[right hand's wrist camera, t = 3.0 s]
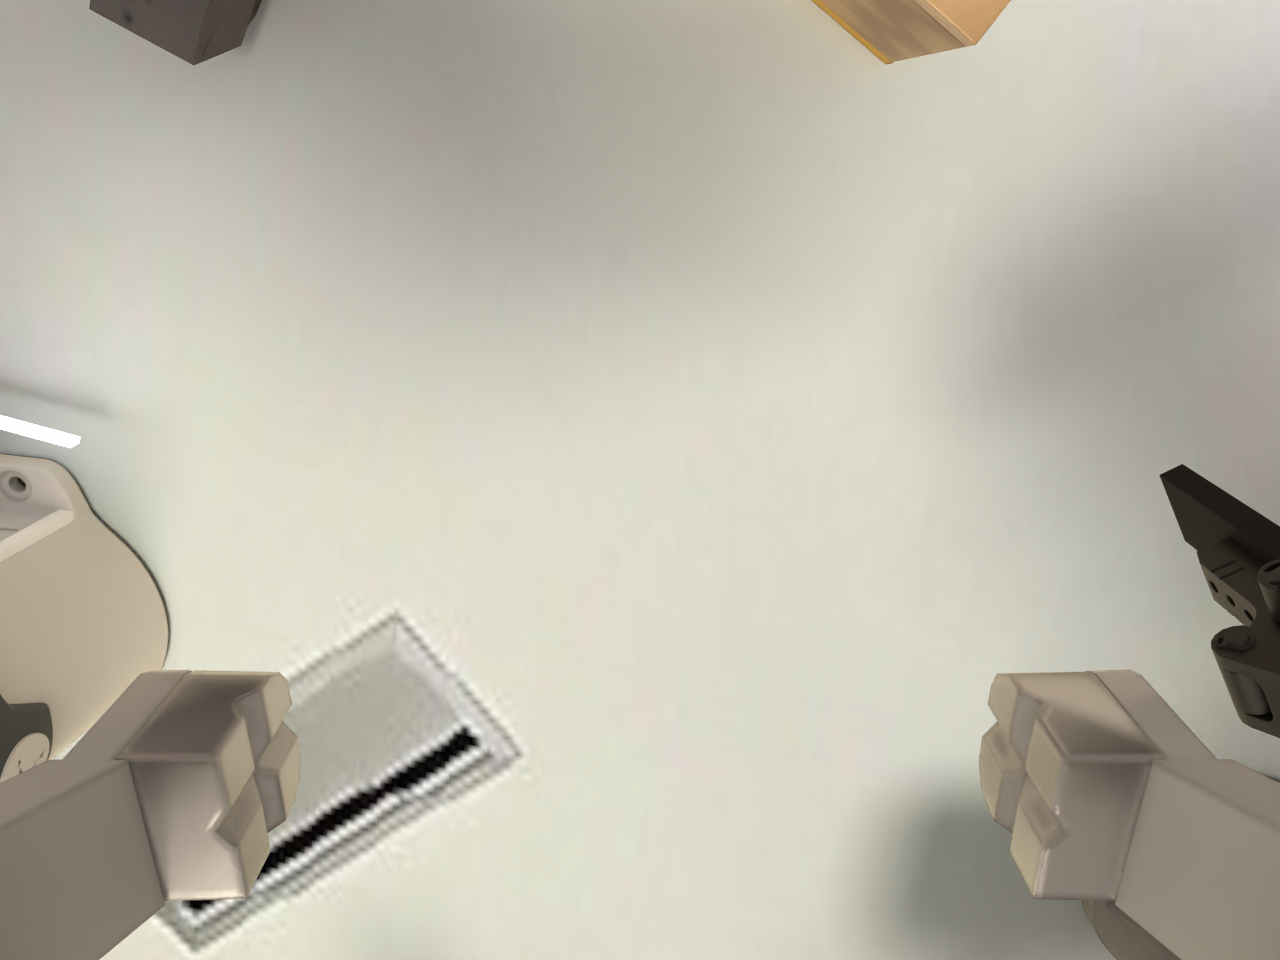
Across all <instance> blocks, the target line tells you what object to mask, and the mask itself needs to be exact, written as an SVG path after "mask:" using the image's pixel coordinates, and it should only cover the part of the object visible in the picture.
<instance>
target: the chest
mask: <svg viewBox="0 0 1280 960" xmlns="http://www.w3.org/2000/svg"><path fill="white" fill-rule="evenodd" d="M812 1H813V2H814V3H815V4H817V5H818V6H819V7H820V8H821V9H822V10H823V11H825V12H826V13H827V14H828V15H829V16H830V17H832V18H833V19H834V20H835V21H836V22H837V23H839V24H840V25H841V26H842V27H843V28H844V29H846V30H847V31H848V32H849V33H850V34H851V35H852V36H854V37H855V38H856V39H857V40H858V41H859V42H861V43H862V44H863V45H864V46H865V47H866V48H868V49H869V50H870V51H871V52H872V53H873V54H875V55H876V56H877V57H878V58H879V59H880V60H882V61H883V62H884V63H885V64H890V63H893V62H894V61H899V60H904V59H909V58H914V57H918V56H923V55H928V54H933V53H938V52H942V51H947V50H952V49H957V48H962V47H965V46H964V45H963V44H962V43H961V42H960V41H959V40H958V39H957V38H955V37H954V36H953V35H952V34H951V33H950V32H949V31H948V30H947V29H945V28H944V27H943V26H942V25H941V24H940V23H939V22H938V21H936V20H935V19H934V18H933V17H932V16H931V15H930V14H929V13H927V12H926V11H925V10H924V9H923V8H922V7H921V6H920V5H918V4H917V3H916V2H915V1H914V0H812Z"/></svg>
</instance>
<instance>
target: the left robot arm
mask: <svg viewBox="0 0 1280 960" xmlns="http://www.w3.org/2000/svg"><path fill="white" fill-rule="evenodd" d="M1160 478H1161V480H1162V483H1163V485H1164V488H1165V490H1166V493H1167V495H1168V498H1169V501H1170V503H1171V506H1172V508H1173V511H1174V513H1175V516H1176V519H1177V521H1178V524H1179V526H1180V529H1181V531H1182V534H1183V536H1184V539H1185V541H1186V542H1187V543H1189V544H1190V545H1191V546H1193V547H1194V548H1195V549H1196V550H1198V551H1197V554H1198V558H1199V561H1200V564H1201V567H1202V569H1203V572H1204V575H1205V577H1206V580H1207V582H1208V585H1209V588H1210V590H1211V593H1212V595H1213V598H1214V600H1215V601H1216V602H1218V603H1219V604H1220V605H1221V606H1222V607H1223V608H1225V609H1227V611H1228V612H1229V613H1231V614H1232V615H1233V616H1235V617H1236V618H1237V619H1238V620H1239V621H1240V622H1241V623H1243V624H1244V625H1245V626H1244V625H1242V626H1232V627H1229V628H1226V629H1223V630H1222V631H1220V632H1219V633H1217V634H1216V635H1215V636H1214V638H1213V639H1212V641H1211V648H1212V650H1213V653H1214V655H1215V658H1216V660H1217V663H1218V665H1219V668H1220V670H1221V673H1222V675H1223V678H1224V681H1225V683H1226V686H1227V688H1228V691H1229V693H1230V696H1231V698H1232V701H1233V703H1234V706H1235V708H1236V711H1237V713H1238V716H1239V717H1240V719H1241V720H1242V722H1243V723H1245V724H1246V725H1248V726H1250V727H1252V728H1255V729H1257V730H1260V731H1263V732H1265V733H1268V734H1271V735H1273V736H1276V737H1279V738H1280V527H1279V526H1278V525H1276V524H1275V523H1273V522H1272V521H1270V520H1269V519H1267V518H1265V517H1264V516H1262V515H1261V514H1259V513H1258V512H1256V511H1255V510H1253V509H1251V508H1250V507H1248V506H1247V505H1245V504H1244V503H1242V502H1241V501H1239V500H1237V499H1236V498H1234V497H1233V496H1231V495H1230V494H1228V493H1227V492H1225V491H1223V490H1222V489H1220V488H1219V487H1217V486H1216V485H1214V484H1212V483H1211V482H1209V481H1208V480H1206V479H1205V478H1203V477H1202V476H1200V475H1198V474H1197V473H1195V472H1194V471H1192V470H1191V469H1189V468H1188V467H1186V466H1184V465H1183V464H1182V465H1180V466H1177V467H1175V468H1173V469H1171V470H1169V471H1167V472H1165V473H1163V474H1161V475H1160ZM1274 781H1275V780H1274ZM1276 782H1278V781H1276ZM1278 783H1280V782H1278ZM1082 902H1083V905H1084V909H1085V911H1086V914H1087V916H1088V918H1089V920H1090V922H1091V923H1092V925H1093V927H1094V929H1095V931H1096V932H1097V934H1098V936H1099V938H1100V939H1101V941H1102V943H1103V944H1104V945H1105V947H1106V948H1107V949H1108V950H1109V951H1110V952H1111V954H1112V955H1113V956H1114V957H1115V958H1116V959H1117V960H1181V959H1180V958H1179V957H1177V956H1176V955H1175V954H1174V953H1173V952H1171V951H1170V950H1169V949H1168V948H1167V947H1165V946H1164V945H1163V944H1162V943H1161V942H1159V941H1158V940H1157V939H1156V938H1155V937H1153V936H1152V935H1151V934H1150V933H1149V932H1147V931H1146V930H1145V929H1144V928H1143V927H1141V926H1140V925H1139V924H1138V923H1137V922H1135V921H1134V920H1133V919H1132V918H1130V917H1129V916H1128V915H1127V914H1126V913H1124V912H1123V911H1122V910H1121V909H1120V908H1118V907H1117V906H1116V905H1115V902H1116V901H1101V900H1082Z"/></svg>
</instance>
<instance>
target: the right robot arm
mask: <svg viewBox="0 0 1280 960" xmlns="http://www.w3.org/2000/svg"><path fill="white" fill-rule="evenodd" d="M0 429H2V430H6V431H10V432H13V433H17V434H21V435H24V436H28V437H32V438H36V439H39V440H43V441H47V442H50V443H54V444H58V445H61V446H65V447H69V448H71V447H73V446H75V445H76V444H78V443H80V437H78V436H75V435H71V434H67V433H64V432H60V431H56V430H53V429H49V428H45V427H42V426H38V425H34V424H31V423H27V422H23V421H20V420H16V419H12V418H9V417H5V416H1V415H0ZM17 477H19V478H21V479H22V480H23V481H24V482H25V484H26V487H25V486H23V485H21V484H20V483H19V481H18V479H17ZM167 647H168V624H167V617H166V613H165V608H164V605H163V602H162V599H161V597H160V594H159V592H158V589H157V587H156V585H155V583H154V581H153V580H152V578H151V576H150V575H149V573H148V571H147V570H146V569H145V567H144V566H143V564H142V563H141V562H140V560H139V559H138V558H137V557H136V555H135V554H134V553H133V552H132V551H131V550H130V549H129V548H128V547H127V546H126V545H125V544H124V543H123V542H122V541H121V540H120V539H119V538H118V537H117V536H116V535H115V534H113V533H112V532H111V531H110V530H109V529H108V528H107V527H106V526H105V525H104V524H103V523H102V522H101V521H100V520H99V519H98V518H97V517H96V516H95V515H94V514H93V512H92V511H91V509H90V507H89V505H88V503H87V501H86V499H85V498H84V496H83V494H82V492H81V490H80V488H79V487H78V485H77V483H76V482H75V480H74V479H73V477H72V476H71V475H70V474H69V472H68V471H67V470H66V469H65V468H64V467H63V466H61V465H60V464H58V463H56V462H54V461H51V460H47V459H40V458H32V457H22V456H13V455H4V454H0V960H99V959H100V958H102V957H103V956H104V955H105V954H106V953H108V952H109V951H110V950H111V949H113V948H114V947H115V946H116V945H117V944H119V943H120V942H121V941H122V940H123V939H125V938H126V937H127V936H128V935H129V934H131V933H132V932H133V931H134V930H135V929H137V928H138V927H139V926H140V925H141V924H143V923H144V922H145V921H146V920H148V919H149V918H150V917H151V916H152V915H154V914H155V913H156V912H157V911H158V910H160V909H161V908H162V907H163V906H164V905H165V903H164V901H178V900H213V899H246V898H247V896H248V894H249V892H250V890H251V888H252V886H253V884H254V882H255V880H256V878H257V876H258V874H259V872H260V870H261V868H262V866H263V864H264V863H265V861H266V859H267V857H268V855H269V853H270V851H271V850H270V845H269V840H268V834H267V833H268V832H270V831H271V830H273V829H274V828H275V827H277V826H278V825H280V824H281V823H283V822H284V821H285V820H286V819H287V817H288V814H289V812H290V810H291V808H292V806H293V804H294V802H295V798H296V794H297V789H298V784H299V780H300V771H301V754H300V748H299V741H298V736H297V735H296V734H295V733H294V732H293V731H292V730H291V729H290V728H289V727H288V726H287V725H286V724H285V723H284V722H283V719H284V717H285V716H286V714H287V712H288V710H289V709H290V707H291V705H292V701H291V696H290V691H289V687H288V682H287V679H286V678H285V677H284V676H283V675H282V674H281V673H279V672H245V671H196V670H195V671H189V670H161V669H162V666H163V664H164V661H165V657H166V653H167ZM988 705H989V707H990V709H991V710H992V712H993V714H994V716H995V717H996V719H997V722H996V723H995V724H994V725H993V726H992V727H991V728H990V729H989V730H988V731H987V732H986V733H985V734H984V735H983V736H982V742H981V750H980V757H979V767H980V779H981V787H982V791H983V794H984V798H985V801H986V804H987V806H988V808H989V810H990V812H991V815H992V817H993V819H994V820H995V821H996V822H997V823H999V824H1000V825H1002V826H1003V827H1005V828H1006V829H1007V830H1009V831H1010V832H1012V833H1013V834H1012V840H1011V845H1010V850H1009V851H1010V853H1011V855H1012V857H1013V859H1014V861H1015V862H1016V864H1017V866H1018V868H1019V870H1020V872H1021V874H1022V876H1023V878H1024V880H1025V882H1026V884H1027V886H1028V888H1029V890H1030V892H1031V894H1032V896H1033V898H1034V899H1065V900H1101V901H1116V902H1115V905H1116V906H1117V907H1118V908H1120V909H1121V910H1122V911H1123V912H1124V913H1126V914H1127V915H1128V916H1129V917H1130V918H1132V919H1133V920H1134V921H1135V922H1137V923H1138V924H1139V925H1140V926H1141V927H1143V928H1144V929H1145V930H1146V931H1147V932H1149V933H1150V934H1151V935H1152V936H1153V937H1155V938H1156V939H1157V940H1158V941H1159V942H1161V943H1162V944H1163V945H1164V946H1165V947H1167V948H1168V949H1169V950H1170V951H1171V952H1173V953H1174V954H1175V955H1176V956H1177V957H1179V958H1180V959H1181V960H1280V783H1278V782H1276V781H1274V780H1272V779H1270V778H1268V777H1266V776H1264V775H1262V774H1260V773H1258V772H1256V771H1254V770H1252V769H1250V768H1248V767H1246V766H1244V765H1242V764H1240V763H1238V762H1236V761H1234V760H1217V758H1216V757H1215V756H1214V755H1213V754H1212V753H1211V752H1210V751H1209V750H1208V748H1207V747H1206V746H1205V745H1204V744H1203V743H1202V742H1201V741H1200V740H1199V739H1198V737H1197V736H1196V735H1195V734H1194V733H1193V732H1192V731H1191V730H1190V729H1189V727H1188V726H1187V725H1186V724H1185V723H1184V722H1183V721H1182V720H1181V719H1180V717H1179V716H1178V715H1177V714H1176V713H1175V712H1174V711H1173V710H1172V709H1171V707H1170V706H1169V705H1168V704H1167V703H1166V702H1165V701H1164V700H1163V699H1162V698H1161V696H1160V695H1159V694H1158V693H1157V692H1156V691H1155V690H1154V689H1153V688H1152V686H1151V685H1150V684H1149V683H1148V682H1147V681H1146V680H1145V679H1144V678H1143V676H1142V675H1140V674H1138V673H1136V672H1134V671H1132V670H1105V671H1085V672H1052V673H997V675H996V677H995V679H994V681H993V683H992V685H991V690H990V695H989V700H988ZM89 729H90V730H89ZM88 730H89V731H88ZM86 731H88V732H87V733H86V734H85V735H84V736H83V737H82V739H81V740H80V741H79V742H78V743H77V744H76V745H75V746H74V747H73V748H72V750H71V751H70V752H69V753H68V754H67V755H66V756H65V757H64V758H63V760H52V759H53V758H54V757H55V756H56V755H58V754H59V753H60V752H61V751H62V750H64V749H65V748H66V747H67V746H68V745H70V744H71V743H72V742H73V741H75V740H76V739H77V738H78V737H80V736H81V735H82V734H84V733H85V732H86Z"/></svg>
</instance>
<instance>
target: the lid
mask: <svg viewBox="0 0 1280 960" xmlns="http://www.w3.org/2000/svg"><path fill="white" fill-rule="evenodd" d="M914 1H915V2H916V3H917V4H918V5H920V6H921V7H922V8H923V9H924V10H925V11H926V12H927V13H929V14H930V15H931V16H932V17H933V18H934V19H935V20H936V21H938V22H939V23H940V24H941V25H942V26H943V27H944V28H945V29H947V30H948V31H949V32H950V33H951V34H952V35H953V36H954V37H955V38H957V39H958V40H959V41H960V42H961V43H962V44H963V45H964V46H966V47H967V46H972V45H976V44H977V43H978V42H979V40H980V39H981V38H982V36H983V35H984V34H985V33H986V31H987V30H988V29H989V27H990V26H991V25H992V24H993V22H994V21H995V20H996V18H997V17H998V16H999V15H1000V13H1001V12H1002V11H1003V10H1004V8H1005V7H1006V6H1007V4H1008V3H1009V2H1010V1H1011V0H914Z"/></svg>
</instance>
